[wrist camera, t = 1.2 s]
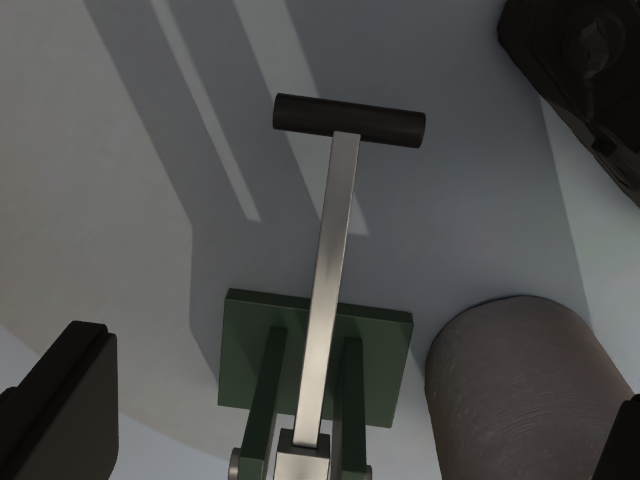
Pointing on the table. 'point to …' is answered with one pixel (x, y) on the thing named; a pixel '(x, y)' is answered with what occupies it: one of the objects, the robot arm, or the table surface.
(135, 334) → the table surface
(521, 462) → the pillar candle
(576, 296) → the table surface
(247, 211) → the table surface
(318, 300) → the lever
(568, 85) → the film camera
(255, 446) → the bracket
